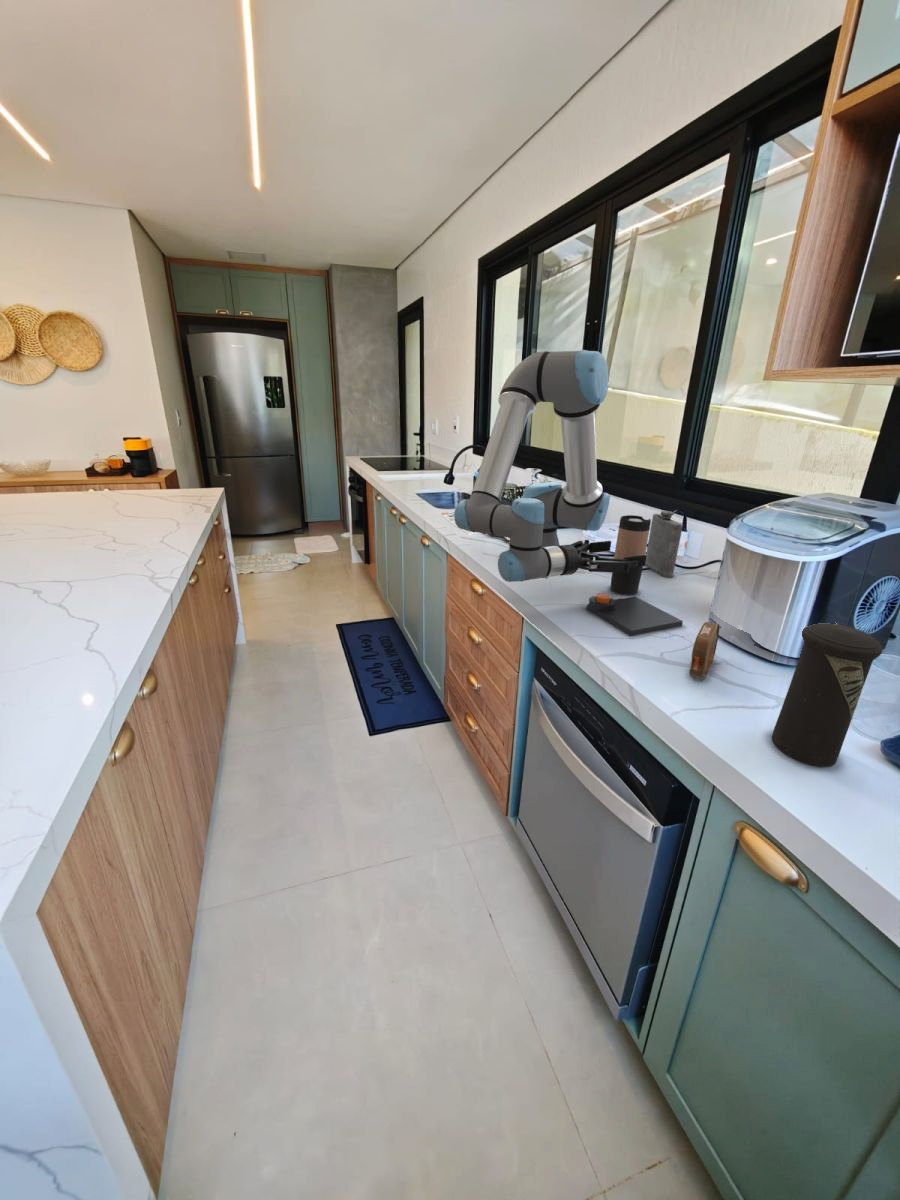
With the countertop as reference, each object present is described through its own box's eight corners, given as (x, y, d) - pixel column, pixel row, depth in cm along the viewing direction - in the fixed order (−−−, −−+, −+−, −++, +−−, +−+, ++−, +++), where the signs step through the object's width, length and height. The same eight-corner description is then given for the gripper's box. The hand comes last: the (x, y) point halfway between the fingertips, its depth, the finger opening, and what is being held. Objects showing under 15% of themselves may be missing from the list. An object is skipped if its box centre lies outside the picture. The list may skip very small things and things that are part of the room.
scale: (583, 608, 125) (584, 597, 124) (632, 600, 131) (634, 589, 130) (628, 636, 111) (630, 624, 110) (681, 626, 117) (684, 614, 116)
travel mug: (608, 593, 135) (619, 520, 127) (609, 584, 142) (620, 514, 134) (638, 597, 133) (651, 523, 125) (638, 587, 139) (651, 516, 132)
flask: (662, 577, 148) (674, 517, 141) (640, 562, 161) (650, 506, 154) (674, 577, 148) (686, 517, 141) (651, 562, 161) (661, 506, 154)
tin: (701, 687, 92) (711, 646, 89) (683, 681, 94) (692, 641, 91) (715, 655, 104) (724, 618, 101) (699, 651, 106) (707, 614, 102)
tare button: (592, 600, 124) (593, 594, 123) (603, 598, 125) (604, 592, 124) (601, 605, 121) (602, 599, 120) (612, 603, 122) (612, 597, 121)
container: (824, 777, 71) (873, 653, 63) (758, 743, 78) (794, 627, 70) (847, 754, 76) (895, 635, 68) (782, 724, 83) (820, 613, 75)
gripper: (531, 560, 137) (595, 553, 145) (586, 592, 116) (658, 581, 123) (533, 533, 134) (598, 527, 142) (590, 561, 113) (664, 552, 120)
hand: (626, 552), depth 133 cm, fingers open, 13 cm apart
